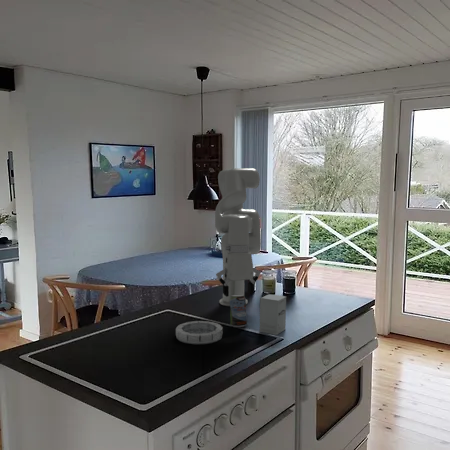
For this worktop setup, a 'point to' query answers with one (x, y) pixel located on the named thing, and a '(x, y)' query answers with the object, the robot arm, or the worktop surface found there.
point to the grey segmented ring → (199, 332)
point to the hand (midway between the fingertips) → (238, 294)
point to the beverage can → (238, 310)
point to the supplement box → (272, 314)
